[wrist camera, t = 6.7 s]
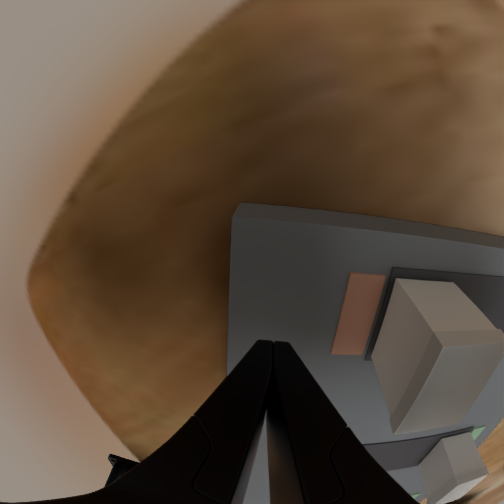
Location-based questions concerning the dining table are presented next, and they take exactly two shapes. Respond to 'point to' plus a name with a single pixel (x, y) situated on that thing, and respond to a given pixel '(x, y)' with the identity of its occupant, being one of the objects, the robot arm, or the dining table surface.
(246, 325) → the breaker panel
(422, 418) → the handle
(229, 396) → the robot arm
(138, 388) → the dining table surface
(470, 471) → the middle handle
